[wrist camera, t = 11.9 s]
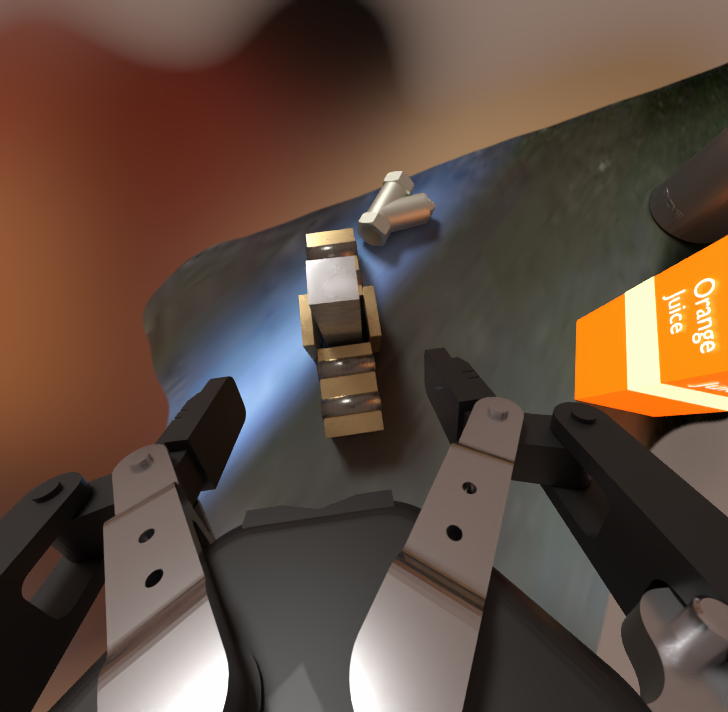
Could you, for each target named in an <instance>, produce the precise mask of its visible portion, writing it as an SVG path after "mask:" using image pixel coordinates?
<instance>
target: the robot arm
mask: <svg viewBox="0 0 728 712" xmlns="http://www.w3.org/2000/svg"><path fill="white" fill-rule="evenodd" d="M649 204H650V210H651V213H652V215H653V217H654V219H655V220H656V222H657V223H658V224H659V225H660V226H661V227H662V228H663V229H664V230H666V231H667V232H668V233H670V234H671V235H673V236H675V237H677V238H679V239H682V240H685V241H687V242H692V243H702V244H706V243H712V242H715V241H718V240H720V239H722V238H724V237H725V236H727V235H728V126H727V127H726V128H725V129H724V130H723V131H722V132H720V133H719V134H718V135H717V136H716V137H715V138H714V139H712V140H711V141H710V142H709V143H708V144H707V145H706V146H704V147H703V148H702V149H701V150H700V151H699V152H698V153H696V154H695V155H694V156H693V157H692V158H691V159H689V160H688V161H687V162H686V163H685V164H684V165H683V166H681V167H680V168H679V169H678V170H677V171H676V172H674V173H673V174H672V175H671V176H670V177H669V178H668V179H666V180H665V181H664V182H663V183H662V184H661V185H660V186H658V187H657V188H656V189H655V190H654V191H653V193H652V195H651V197H650V203H649ZM424 361H425V388H426V393H427V396H428V398H429V400H430V402H431V404H432V406H433V408H434V410H435V413H436V415H437V417H438V419H439V421H440V423H441V425H442V427H443V429H444V432H445V434H446V436H447V438H448V440H449V442H450V444H451V446H450V448H449V450H448V453H447V455H446V457H445V459H444V461H443V464H442V466H441V468H440V470H439V472H438V474H437V477H436V479H435V481H434V483H433V485H432V488H431V490H430V492H429V494H428V496H427V498H426V501H425V503H424V505H423V507H422V509H420V508H418V507H416V506H413V505H410V504H407V503H403V502H397V501H393V496H392V491H391V490H385V491H378V492H371V493H364V494H357V495H354V496H352V497H349V498H347V499H344V500H342V501H339V502H336V503H334V504H331V505H329V506H326V507H324V508H321V509H309V508H300V507H291V506H276V507H269V508H262V509H256V510H249V511H247V512H246V515H245V518H244V522H243V525H240V526H238V527H236V528H234V529H232V530H230V531H229V532H227V533H225V534H224V535H222V536H221V537H219V538H218V539H217V540H216V539H215V537H214V534H213V532H212V530H211V527H210V525H209V522H208V520H207V517H206V515H205V512H204V510H203V507H202V505H201V503H200V501H199V500H198V496H199V494H200V492H201V491H206V490H213V489H216V487H217V484H218V482H219V480H220V478H221V475H222V473H223V471H224V468H225V466H226V464H227V461H228V459H229V457H230V454H231V452H232V450H233V447H234V445H235V443H236V440H237V438H238V436H239V433H240V431H241V429H242V426H243V424H244V422H245V418H246V410H245V406H244V403H243V401H242V398H241V396H240V393H239V391H238V388H237V386H236V383H235V381H234V379H233V378H232V377H230V376H229V377H221V378H214V379H210V380H209V381H208V383H207V384H206V385H205V387H204V388H203V390H202V391H201V392H199V393H198V394H196V395H195V396H194V397H192V398H191V399H190V400H188V401H187V403H186V404H185V405H184V406H183V408H182V409H181V412H179V413H178V414H177V416H176V417H175V420H173V421H172V422H171V423H170V425H169V426H168V427H167V429H166V430H165V431H164V433H163V434H162V435H161V436H160V438H159V439H158V440H157V442H156V443H155V444H154V445H149V446H146V447H143V448H141V449H138V450H137V451H135V452H133V453H131V454H130V455H128V456H127V457H125V458H124V459H123V460H122V461H121V462H120V463H119V464H118V465H117V466H116V467H115V469H114V471H113V473H112V474H110V475H107V476H104V477H101V478H98V479H95V480H93V481H90V482H87V481H86V480H85V479H84V478H83V477H82V475H80V474H79V473H77V472H69V473H65V474H62V475H58V476H56V477H54V478H51V479H49V480H47V481H46V482H44V483H42V484H40V485H39V486H37V487H36V488H34V489H33V490H31V491H30V492H29V493H28V494H26V495H25V496H24V497H23V498H22V499H21V500H20V501H19V502H18V503H17V504H16V505H15V506H14V507H13V508H12V509H11V510H10V511H9V512H8V513H7V514H6V515H5V516H4V517H3V518H1V519H0V712H31V711H32V709H33V707H34V706H35V704H36V702H37V700H38V698H39V697H40V695H41V693H42V691H43V690H44V688H45V686H46V684H47V683H48V681H49V679H50V677H51V676H52V674H53V672H54V670H55V669H56V667H57V665H58V663H59V661H60V660H61V658H62V656H63V655H64V653H65V651H66V649H67V647H68V646H69V644H70V642H71V641H72V639H73V637H74V635H75V634H76V632H77V630H78V628H79V626H80V625H81V623H82V621H83V620H84V618H85V616H86V614H87V613H88V611H89V609H90V607H91V605H92V604H93V602H94V600H95V599H96V597H97V595H98V593H99V591H100V590H101V588H102V586H103V585H104V583H105V589H106V590H105V591H106V618H107V619H106V620H107V646H108V650H107V651H106V652H105V653H104V654H103V655H102V656H101V657H100V658H99V659H98V660H97V661H96V662H95V663H94V664H93V665H92V666H91V667H90V669H88V670H87V672H85V673H84V675H83V676H82V677H81V678H80V679H79V680H78V681H77V682H76V683H75V684H74V685H73V686H72V687H71V688H70V689H69V690H68V691H67V692H66V693H65V694H64V695H63V696H62V698H60V699H59V701H57V703H56V704H55V705H54V706H53V707H52V708H51V709H50V710H49V711H48V712H728V517H727V516H726V515H725V514H723V513H722V512H721V511H720V510H719V509H718V508H716V507H715V506H714V505H713V504H712V503H710V502H709V501H708V500H707V499H706V498H704V497H703V496H702V495H701V494H700V493H699V492H697V491H696V490H695V489H694V488H693V487H692V486H690V485H689V484H688V483H687V482H686V481H684V480H683V479H682V478H681V477H680V476H679V475H677V474H676V473H675V472H674V471H673V470H672V469H670V468H669V467H668V466H667V465H665V464H664V463H663V462H662V461H661V460H659V458H657V457H656V456H655V455H654V454H653V453H651V452H650V451H649V450H648V449H647V448H646V447H644V446H643V445H642V444H641V443H640V442H638V441H637V440H636V439H635V438H634V437H633V436H631V435H630V434H629V433H628V432H627V431H625V430H624V429H623V428H622V427H621V426H620V425H618V424H617V423H616V422H615V421H614V420H612V419H611V418H610V417H609V416H608V415H606V414H605V413H604V412H602V411H601V410H599V409H597V408H594V407H592V406H589V405H586V404H582V403H575V402H566V403H561V404H559V405H557V406H556V407H555V408H554V411H553V415H540V414H529V413H523V411H522V409H521V408H520V407H519V406H518V405H517V404H515V403H514V402H512V401H510V400H507V399H504V398H499V397H496V395H495V394H494V393H493V392H492V391H491V389H490V388H489V387H488V386H487V385H486V383H485V382H484V381H483V380H482V379H481V378H480V377H479V375H478V374H477V373H476V371H474V369H473V368H472V367H471V365H470V364H469V363H468V362H466V361H464V360H462V359H460V358H459V357H456V358H452V357H451V356H450V355H449V353H448V352H447V351H446V349H445V348H436V349H428V350H425V355H424ZM510 480H515V481H522V482H529V483H536V484H540V485H541V486H542V488H543V490H544V491H545V493H546V494H547V496H548V497H549V499H550V500H551V502H552V503H553V505H554V506H555V508H556V510H557V511H558V513H559V514H560V516H561V517H562V519H563V520H564V522H565V523H566V525H567V526H568V528H569V529H570V531H571V533H572V534H573V536H574V537H575V539H576V540H577V542H578V543H579V545H580V546H581V548H582V549H583V551H584V553H585V554H586V556H587V557H588V559H589V560H590V562H591V563H592V565H593V566H594V568H595V569H596V571H597V572H598V574H599V576H600V577H601V579H602V580H603V582H604V583H605V585H606V586H607V588H608V589H609V591H610V592H611V594H612V596H613V597H614V599H615V600H616V602H617V603H618V605H619V606H620V608H621V609H622V611H623V612H624V614H625V615H626V618H625V619H624V621H623V623H622V627H621V637H622V642H623V645H624V648H625V651H626V653H627V655H628V657H629V659H630V661H631V664H632V666H633V668H634V670H635V673H636V675H637V678H638V681H639V686H640V696H641V697H640V696H639V695H638V694H637V692H636V691H635V690H634V689H633V688H632V687H631V686H630V685H629V684H628V683H627V682H626V681H625V680H624V679H623V678H622V677H621V676H620V675H619V674H618V673H617V672H616V671H615V670H613V669H612V668H611V667H610V666H609V665H608V664H606V663H605V662H604V661H603V660H602V659H601V658H599V657H598V656H597V655H596V654H595V653H594V652H593V651H591V650H590V649H589V648H588V647H587V646H586V645H584V644H583V643H582V642H581V641H580V640H578V639H577V638H576V637H575V636H574V635H573V634H571V633H570V632H569V631H568V630H567V629H566V628H564V627H563V626H562V625H561V624H560V623H559V622H557V621H556V620H555V619H554V618H553V617H552V616H550V615H549V614H548V613H547V612H546V611H545V610H543V609H542V608H541V607H540V606H539V605H537V604H536V603H535V602H534V601H533V600H532V599H530V598H529V597H528V596H527V595H526V594H525V593H523V592H522V591H521V590H520V589H519V588H518V587H516V586H515V585H514V584H513V583H512V582H511V581H509V580H508V579H507V578H506V577H505V576H504V575H502V574H501V573H500V572H499V571H498V570H496V569H495V568H494V567H493V561H494V557H495V552H496V547H497V542H498V538H499V533H500V528H501V523H502V518H503V514H504V509H505V504H506V499H507V495H508V490H509V485H510ZM50 545H51V546H52V547H54V548H55V549H56V550H57V551H59V553H61V554H62V555H63V557H62V558H61V560H60V561H59V562H58V564H57V565H56V566H55V568H54V569H53V570H52V572H51V573H50V574H49V576H48V577H47V578H46V580H45V581H44V583H43V584H42V585H41V587H40V588H39V589H38V591H37V592H36V594H35V595H34V596H33V598H32V599H31V600H30V602H28V601H26V600H25V599H24V598H23V596H22V593H21V592H22V591H21V590H22V584H23V582H24V580H25V578H26V576H27V575H28V573H29V572H30V571H31V569H32V568H33V567H34V565H35V564H36V563H37V562H38V560H39V559H40V558H41V557H42V555H43V554H44V553H45V552H46V550H47V549H48V548H49V547H50Z"/></svg>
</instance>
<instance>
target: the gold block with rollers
mask: <svg viewBox="0 0 728 712" xmlns="http://www.w3.org/2000/svg"><path fill="white" fill-rule="evenodd" d="M306 239H307V247H306V255H307V260H308V261H310V260H319V259H328V258H337V257H346V256H354V260H355V268H356V276H357V284H358V292H359V301H360V311H362V310H364V315H365V322H366V328H367V335H368V341H369V342H368V343H361V344H353V345H346V346H339V347H332V348H325V349H322V343H321V333H320V329H319V327H318V324H317V322H316V320H315V318H314V316H313V313H312V311H311V309H310V307H309V304H308V294H306V295H299V304H300V317H301V329H302V341H303V347H304V348H305V349H306V351H307V352H308V354H309V355H310V356H311V358H312V359H313V361H317V360H318V361H317V372H318V377H319V381H320V383H321V393H322V398H321V413H322V418H323V420H324V424H325V434H326V438H336V437H342V436H349V435H356V434H363V433H370V432H377V431H382V430H384V427H383V421H382V414H381V412H382V405H381V398H380V393H379V390H378V388H377V382H376V367H375V360H374V355H373V353H374V352H380V344H381V329H380V323H379V317H378V311H377V305H376V299H375V293H374V287H373V286H365V287H363V285H362V277H361V271H360V270H359V266H358V252H357V245H356V241H355V240H354V233H353V228H350V229H342V230H335V231H327V232H319V233H312V234H306ZM362 290H363V292H362Z"/></svg>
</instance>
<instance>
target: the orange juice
mask: <svg viewBox="0 0 728 712" xmlns="http://www.w3.org/2000/svg"><path fill="white" fill-rule="evenodd" d="M575 400H579V401H584V402H589V403H593V404H598V405H603V406H607V407H612V408H616V409H621V410H626V411H630V412H635V413H639V414H644V415H649V416H653V417H658V416H671V415H684V414H698V413H711V412H724V411H728V235H727V236H725V237H724V238H722V239H720V240H718V241H717V242H715V243H713V244H711V245H710V246H708V247H706V248H704V249H702V250H701V251H699V252H697V253H695V254H694V255H692V256H690V257H688V258H687V259H685V260H683V261H681V262H680V263H678V264H676V265H674V266H673V267H671V268H669V269H667V270H665V271H664V272H662V273H660V274H658V275H657V276H655V277H652V278H650V279H648V280H646V281H645V282H643V283H641V284H639V285H638V286H636V287H634V288H632V289H631V290H629V291H627V292H625V294H623V295H621V296H620V297H618V298H616V299H614V300H613V301H611V302H609V303H607V304H606V305H604V306H602V307H600V308H598V309H597V310H595V311H593V312H591V313H590V314H588V315H586V316H584V317H583V318H581V319H579V320H577V330H576V373H575Z"/></svg>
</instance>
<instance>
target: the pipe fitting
mask: <svg viewBox="0 0 728 712" xmlns="http://www.w3.org/2000/svg"><path fill="white" fill-rule="evenodd" d="M413 189H414V183H413V182H412V180H411V179H410V178H409V176H407V174H405V173H404V172H402V171H395V172H391V173H388V174H387V176H386V178H385V179H384V181H383V186H382V189H381V190H380V192H379V194H378V195H377V197H376V199H375V200H374V202H373V203H372V205H371V207H370V208H369V210H368V212H367V213H363V215H362V217H361V218H360V220H359V222H358V234H359V236H360V237H361V238H362V239H363V240H364V241H365V242H366V243H368V244H370V245H372V246H384V244H385V243H386V241H387V239H388V237H389V234H390V233H391V232H395V231H398V230H402V229H406V228H410V227H414V226H418V225H422V224H426V223H427V222H428V221H429V218H430V216H431V215H432V212H433V211H434V210H435V203H434V202H432V201H431V200H430V199H428V197H427V196H426V194H425V193H419V194H415V195H412V192H413Z"/></svg>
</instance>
